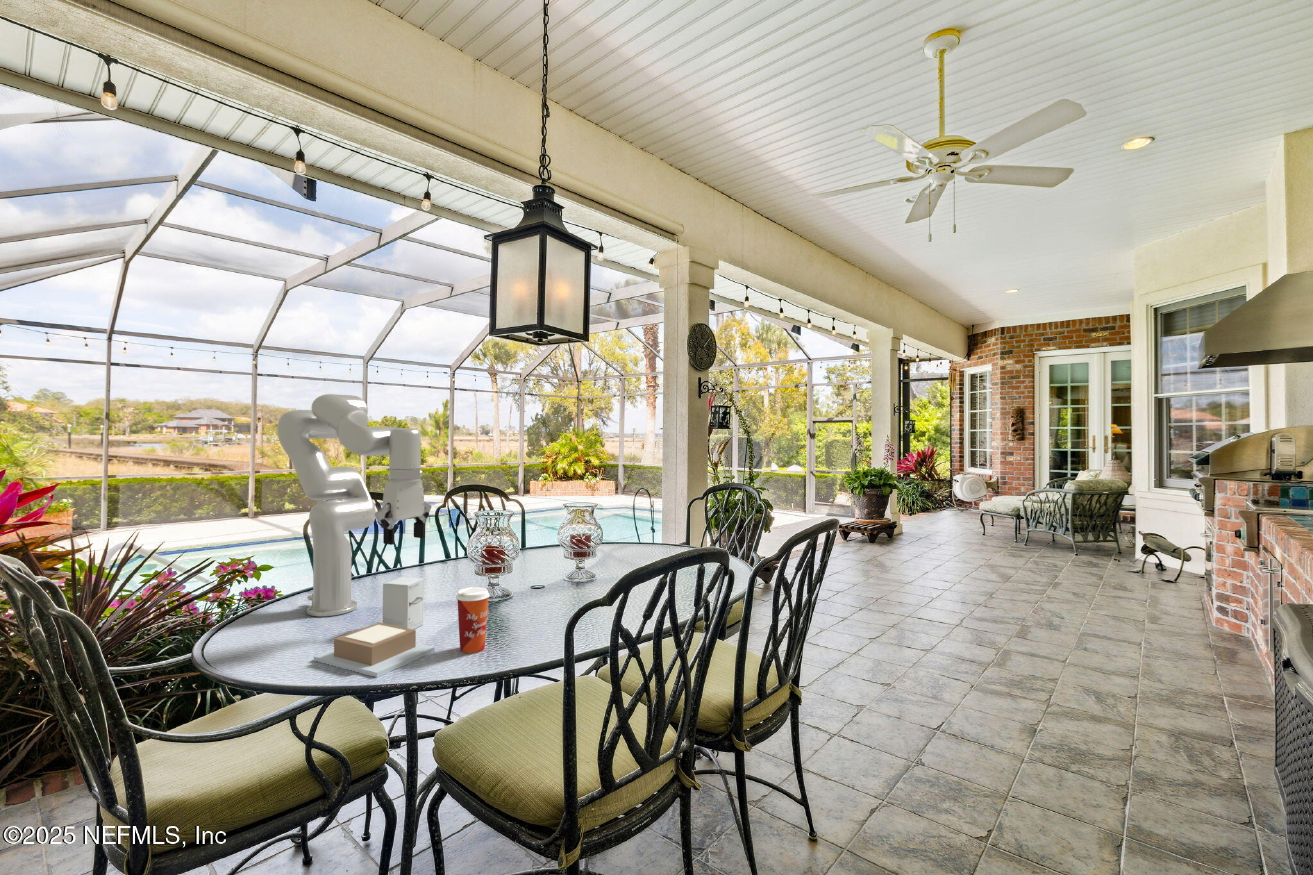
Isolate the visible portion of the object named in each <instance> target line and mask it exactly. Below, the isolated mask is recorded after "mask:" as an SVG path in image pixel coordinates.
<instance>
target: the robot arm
mask: <svg viewBox="0 0 1313 875" xmlns="http://www.w3.org/2000/svg"><path fill="white" fill-rule="evenodd" d="M368 414H369V408H368V404H367V403H366V402H365V400H364V399H363V398H362V397H360V396H357V395H353V394H351V395H350V394H336V393H335V394H334V393H328V394H327V393H326V394H322V395H319V396H318V397H316V398H315V399H314V400H313V402H312V403H311V409H296V410H295V409H294V410H291V411H287V412H285V413H283V414H282V415H281V416H280V417H279V420H278V422H277V428H276V429H277V436H278V437H277V438H278V441H279V444H280V445H281V448H282V449H283V451H284V452H285V454H286V455H287V456H288V458H289V459H290V461H291V463H292V465H293V467H294V470H295V473H296V475H297V477H298V480H299V483H300V485H301V487H302V490H303V492H304V494H305V496H306V497H307V498H308V499H309V500H312V501H319V502H318V503H316V504H314V505H313V506H312V508H311V509H310V511H309V515H308V518H309V519H308V520H309V525H310V530H311V531H310V532H311V535H312V545H313V546H312V547H313V548H312V551H313V554H312V555H313V556H312V557H313V558H312V560H313V562H312V563H313V565H312V567H313V568H312V569H313V571H312V575H313V577H312V580H313V582H312V583H313V584H312V586H313V587H312V588H313V589H312V590H313V591H312V593H311V594H309V595H308V596H307V600H308V601H311V605H309V606H308V607H307V608H306V614H307V615H309V616H312V617H332V616H340V615H342V614H343V615H344V614H346V613H350V612H353V611H354V610H356V609H357V608H358V603H357V601H356V600H353V599H352V545H351V543H350V541H349V540H348V539H347V537H346V536H345V534H344V533H346V532H350V531H356V530H363V529H365V528H369V527H371V526H372V525H373V524H374V523H375V521H377V524H378V525H380V528H381V529H382V530H383V536H382V537H383V538H382V539H383V540H382V541H383V544H384V545H390V546H392V545H394V544H395V528H394V527H395V525H396V522H398V521H404V520H411V519H413V520H414V521H415V522H413V538H415V539H416V538H417V539H424V538H425V523H427V519H428V518H429V516H430V512H431V509H432V507H433V506H432V504H430V503H427V502H426V501H425V494H424V487H423V481H422V479H421V475H422V474H423V470H421V457H422V456H421V449H422V448H421V444H422V437H421V436H422V434H421V432H420V430H419V429H418V428H414V427H413V428H410V427H406V428H405V427H396V426H368V423H369V417H368ZM310 439H313V440H314V439H315V440H317V439H322V440H323V439H338V441H339V443H340V444H341V445H342V447H344V448H345V449H347V450H349V451H351V452H352V453H354V454H356V455H359V456H366V457H370V456H388V458H389V459H388V481H386V482H385V485H384V490H383V495H382V496H383V497H382V507H381V508H380V509H378V510H376V507H375V504H374V501H373V499H372V496H371V494H370V491H369V489H368V487H367V485H366V482H365V480H364V478H363V476H362V474H361V472H359V471H358V470H357V469H356V468H354V467H351V466H332V465H331V464H330V463H329V461H328V458H327V457H326V455H325V453H324V451H323V450H322V448H320V447H319V446H318V445H316V444H315V443H314V442H312V441H311V440H310Z"/></svg>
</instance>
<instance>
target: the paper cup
mask: <svg viewBox="0 0 1313 875" xmlns="http://www.w3.org/2000/svg"><path fill="white" fill-rule="evenodd" d="M489 597H490V593H489V591H488V589H487V588H486V587H480V586H478V587H477V586H474V587H473V586H471V587H470V586H469V587H466V588H465V587H464V588H461V589H460V590H458V592H457V595H456V597H455V598H456V601H457V614H458V615H457V617H458V620H457V621H458V636H459V650H460V652H461V653H463V654H468V655H469V654H478V653H480V652H483V651H484V650H485V647H486V638H487V637H486V636H487V624H488V620H487V619H488V607H489V606H488V605H489Z"/></svg>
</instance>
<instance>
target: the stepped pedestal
mask: <svg viewBox="0 0 1313 875" xmlns="http://www.w3.org/2000/svg"><path fill="white" fill-rule="evenodd" d="M416 632H417V630H416V629H414V630H412V629H408V628H403V627H398V626H393V625H388V624H384V623H383V622H377V623H374V624H372V625H369V626H365V627H362V628H360V629H357V630H354V631H352V632H349V633H347V634H343V635H341V636H338V637H335V638H334V639H333V648H332V649H330V650H328V651H324V652H322V653H319V654H317V655H314V656H313V661H314V662H316V661H318V662H317V663H320V662H321V664H324V663H326V664H325V665H328V664H329V666H332V665H333V666H332V667H335V666H336V667H335V668H339V667H341V668H340V669H343V670H347V669H348V671H351V670H352V671H351V672H354V671H355V673H358V672H359V674H363V675H366V676H371V677H373V676H375V677H374V678H380V677H381V676H384V675H386V674H387V673H388V674H389V673H390V672H392V671H394V670H396V669H398V668H401V667H403V666H406V665H408V664H410V663H412V662H414V661H416V660H419V659H421V658H423V657H426V656H427V655H430V654H432V653H434V652H436V647H435V646H433V645H427V644H423V643H418V642H416V639H417V637H416V636H417V635H416V634H417V633H416Z"/></svg>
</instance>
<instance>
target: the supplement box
mask: <svg viewBox="0 0 1313 875" xmlns="http://www.w3.org/2000/svg"><path fill="white" fill-rule="evenodd" d="M424 579H425V578H422V577H420V578H419V577H407V576H406V577H404V576H402V577H401V576H400V577H397V578H396V579H395V578H394V579H393V580H389V581H387V582H385V583H382V623H384V624H388V625H393V626H398V627H403V628H408V629H412V630H416V629H418V628H419V627H421V626H423V625H424V600H425V598H424V594H425V593H424V589H425V588H424V582H425V581H424Z"/></svg>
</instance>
